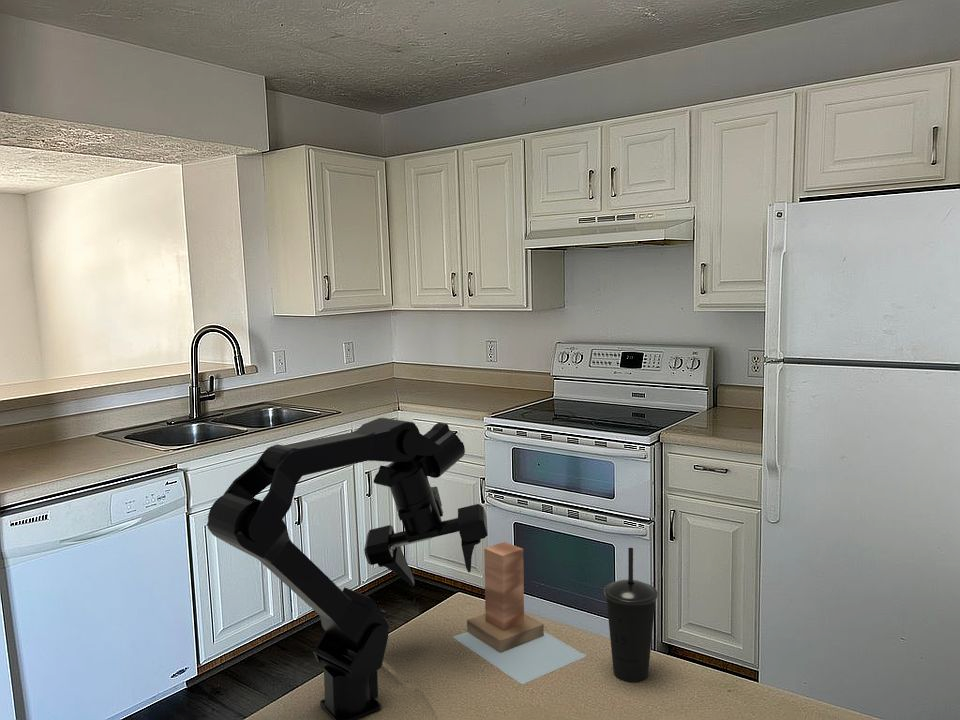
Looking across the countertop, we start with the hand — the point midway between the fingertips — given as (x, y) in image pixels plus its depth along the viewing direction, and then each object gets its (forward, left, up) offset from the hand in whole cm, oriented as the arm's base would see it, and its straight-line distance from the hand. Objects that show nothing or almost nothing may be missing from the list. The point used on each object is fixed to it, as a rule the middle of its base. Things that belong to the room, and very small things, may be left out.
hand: (441, 577), depth 113 cm
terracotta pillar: (+11, -2, -10) cm, 15 cm away
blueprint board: (+10, -7, -13) cm, 17 cm away
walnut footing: (+11, -2, -12) cm, 16 cm away
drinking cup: (+18, -23, -13) cm, 32 cm away
